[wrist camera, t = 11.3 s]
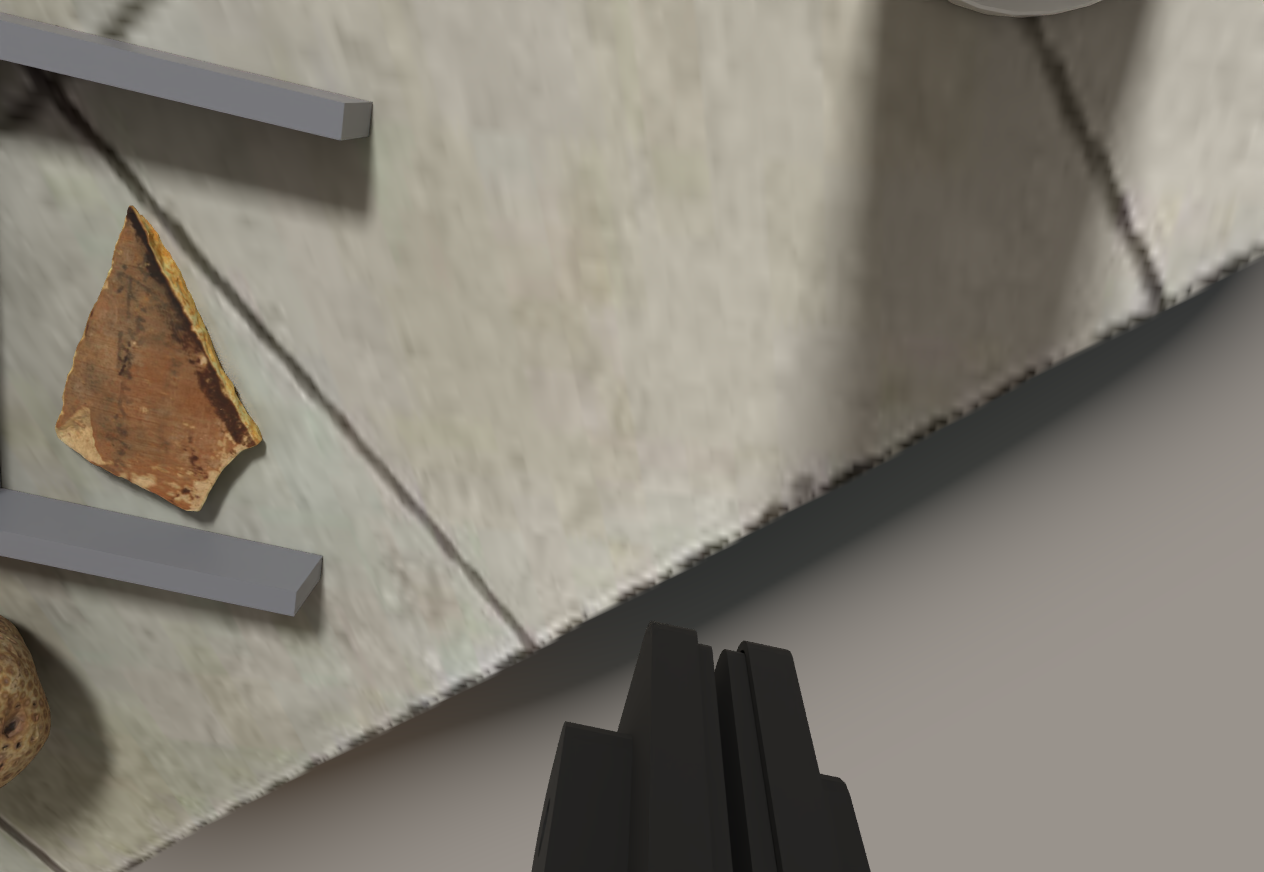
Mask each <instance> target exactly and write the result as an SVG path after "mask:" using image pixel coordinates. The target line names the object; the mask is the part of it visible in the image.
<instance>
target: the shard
mask: <svg viewBox="0 0 1264 872" xmlns="http://www.w3.org/2000/svg"><path fill="white" fill-rule="evenodd" d="M62 400H63V408H62V411H61V414H60V415H59V418H58V420H57V422H56V426H55V430H56V433H57V436H58V438H59V439H60V440H62V441H63V442H64V443H65V444H66V445H67V446H69V447H70V448H72V449H74V450H75V451H76V452H78V453H79V454H81V455H82V456H83V457H84V458H85V459H87V460H88V461H89V462H91V463H92V464H94V465H96V466H99V467H102V468H103V469H105V470H107V471H109V472H110V473H112V474H114V475H116V476H118V477H123V478H125V479H127V480H128V481H130V482H131V483H133V484H136V485H138V486H140V487H141V488H144V489H146V490H148V491H150V492H153V493H155V494H157V495H159V496H160V497H162V498H164V499H165V500H167V501H169V502H170V503H172V504H174V505H175V506H177V507H179V508H182V509H184V510H186V511H196V512H198V511H200V510H201V508H202V506H203V505H204V503H205V501H206V499H207V496H208V494H209V492H210V490H211V488H212V487H213V485H214V484H215V482H216V480H217V479H218V477H219V475H220V474H221V472H222V470H223V469H224V468H225V467H226V466H227V465H228V464H229V463H230V462H231V461H232V460H233V459H234V458H235V457H236V456H237V455H238V454H239V453H240V452H242V451H243V450H245V449H248V448H252V447H254V446H256V445H258V444H259V443H260V442H261V441H262V436H261V433H260V430H259V428H258V426H257V425H256V424H255V423H254V421H253V420H252V418H251V417H250V416H249V415H248V414H247V412H246V410H245V408H244V407H243V405H242V404H241V402H240V400H239V398H238V397H237V395H236V394H235V389H234V385H233V383H232V382H231V381H230V380H229V378H228V377H227V376H226V375H225V373H224V371H223V370H222V368H221V365H220V363H219V361H218V358H217V356H216V354H215V350H214V348H213V345H212V342H211V339H210V336H209V334H208V332H207V329H206V328H205V325H204V323H203V320H202V318H201V316H200V314H199V312H198V311H197V309H196V307H195V303H194V301H193V298H192V296H191V294H190V292H189V291H188V289H187V287H186V284H185V281H184V279H183V277H182V274H181V271H180V270H179V268H178V267H177V265H176V263H175V262H174V260H173V259H172V257H171V255H170V253H169V252H168V251H167V250H166V249H165V247H164V245H163V244H162V242H161V240H160V237H159V235H158V233H157V232H156V231H155V230H154V228H153V227H152V226H151V224H150V223H149V222H148V221H147V220H146V219H145V218H144V217H143V216H142V215H140V214H139V213H138V211H137V210H136V209H135V208H134V207H133V206H129V208H128V210H127V216H126V218H125V222H124V226H123V229H122V231H121V233H120V235H119V239H118V241H117V243H116V245H115V250H114V255H113V258H112V266H111V269H110V270H109V272H108V276H107V278H106V281H105V283H104V286H103V288H102V291H101V293H100V295H99V297H98V301H97V302H96V303H95V304H94V307H93V309H92V311H91V312H90V314H89V318H88V321H87V324H86V328H85V331H84V334H83V337H82V339H81V340H80V342H79V344H78V346H77V349H76V352H75V355H74V358H73V367H72V369H71V371H70V372H69V374H68V375H67V381H66V385H65V389H64V393H63V396H62Z"/></svg>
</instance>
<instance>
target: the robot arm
mask: <svg viewBox="0 0 1264 872" xmlns="http://www.w3.org/2000/svg"><path fill="white" fill-rule="evenodd" d="M948 1H950V2H951V3H953V4H955V5H958V6H961V7H964V8H968V9H971V10H974V11H977V12H980V13H983V14H986V15H996V16H1007V17H1018V18H1025V17H1034V16H1043V15H1052V14H1059V13H1063V12H1067V11H1070V10H1074V9H1078V8H1083V7H1087V6H1090V5H1092V4H1094V3H1097V2H1099V1H1102V0H948ZM532 872H870V868H869V864H868V860H867V856H866V853H865V849H864V845H863V842H862V838H861V835H860V831H859V827H858V823H857V820H856V816H855V812H854V808H853V805H852V801H851V797H850V794H849V791H848V789H847V786H846V784H845V783H844V782H843V781H842V780H841V779H840V778H838V777H832V776H828V775H823V774H820V773H819V768H818V764H817V760H816V755H815V751H814V747H813V743H812V738H811V734H810V730H809V726H808V721H807V717H806V712H805V708H804V705H803V700H802V696H801V691H800V687H799V683H798V678H797V674H796V670H795V666H794V661H793V657H792V654H791V652H790V651H788V650H786V649H781V648H777V647H772V646H767V645H763V644H758V643H753V642H748V641H743V642H741V644H740V645H739V647H738V649H737V652H735V651H731V650H726V649H724V650H723V651H722V653H721V654H720V657H719V659H718V662H717V665H716V669H715V672H714V662H713V652H712V647H711V646H708V645H703V644H698V640H697V632H696V631H695V630H692V629H688V628H683V627H678V626H674V625H668V624H664V623H660V622H655V621H650V622H649V624H648V626H647V629H646V632H645V635H644V639H643V642H642V646H641V649H640V653H639V657H638V660H637V664H636V667H635V671H634V674H633V678H632V681H631V685H630V689H629V692H628V696H627V699H626V703H625V706H624V710H623V713H622V717H621V721H620V724H619V728H618V731H617V732H614V731H610V730H605V729H600V728H595V727H590V726H585V725H581V724H576V723H571V722H565V723H564V725H563V728H562V732H561V736H560V740H559V743H558V747H557V751H556V755H555V759H554V763H553V767H552V771H551V775H550V780H549V784H548V789H547V793H546V798H545V802H544V807H543V812H542V816H541V822H540V827H539V832H538V837H537V843H536V848H535V855H534V860H533V866H532Z"/></svg>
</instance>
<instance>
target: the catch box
mask: <svg viewBox="0 0 1264 872" xmlns="http://www.w3.org/2000/svg"><path fill="white" fill-rule="evenodd" d="M0 59H1V60H5V61H10V62H14V63H18V64H22V65H26V66H31V67H35V68H39V69H43V70H47V71H52V72H56V73H60V74H64V75H68V76H72V77H77V78H81V79H85V80H89V81H93V82H98V83H102V84H106V85H110V86H114V87H119V88H123V89H127V90H131V91H135V92H139V93H144V94H148V95H152V96H156V97H160V98H165V99H169V100H173V101H177V102H181V103H186V104H190V105H194V106H198V107H202V108H206V109H211V110H215V111H219V112H223V113H227V114H232V115H236V116H240V117H244V118H248V119H253V120H257V121H261V122H265V123H269V124H273V125H278V126H282V127H286V128H290V129H294V130H299V131H303V132H307V133H311V134H315V135H320V136H324V137H328V138H332V139H336V140H340V141H341V140H348V139H355V138H361V137H368V136H369V129H370V120H371V111H372V102H369V101H365V100H361V99H357V98H353V97H349V96H345V95H341V94H336V93H332V92H328V91H324V90H320V89H316V88H312V87H307V86H303V85H299V84H295V83H291V82H287V81H283V80H279V79H274V78H270V77H266V76H262V75H258V74H254V73H250V72H245V71H241V70H237V69H233V68H229V67H225V66H221V65H216V64H212V63H208V62H204V61H200V60H196V59H192V58H188V57H183V56H179V55H175V54H171V53H167V52H163V51H159V50H154V49H150V48H146V47H142V46H138V45H134V44H130V43H125V42H121V41H117V40H113V39H109V38H105V37H101V36H97V35H92V34H88V33H84V32H80V31H76V30H72V29H68V28H63V27H59V26H55V25H51V24H47V23H43V22H39V21H35V20H30V19H26V18H22V17H18V16H14V15H10V14H6V13H1V12H0ZM0 556H4V557H9V558H14V559H19V560H24V561H29V562H33V563H38V564H43V565H48V566H53V567H58V568H62V569H67V570H72V571H77V572H82V573H87V574H91V575H96V576H101V577H106V578H111V579H115V580H120V581H125V582H130V583H135V584H140V585H144V586H149V587H154V588H159V589H164V590H169V591H173V592H178V593H183V594H188V595H193V596H198V597H202V598H207V599H212V600H217V601H222V602H226V603H231V604H236V605H241V606H246V607H251V608H255V609H260V610H265V611H270V612H275V613H280V614H284V615H289V616H295V614H296V613H297V611H298V610H299V609H300V607H301V606H302V604H303V603H304V601H305V600H306V598H307V597H308V596H309V594H310V593H311V591H312V590H313V588H314V587H315V586H316V584H317V583H318V581H319V580H320V576H321V567H322V558H323V556H321V555H316V554H311V553H307V552H302V551H297V550H292V549H288V548H283V547H278V546H273V545H269V544H264V543H259V542H255V541H250V540H245V539H240V538H236V537H231V536H226V535H221V534H217V533H212V532H207V531H203V530H198V529H193V528H188V527H184V526H179V525H174V524H169V523H165V522H160V521H155V520H151V519H146V518H141V517H136V516H132V515H127V514H122V513H117V512H113V511H108V510H103V509H99V508H94V507H89V506H84V505H80V504H75V503H70V502H65V501H61V500H56V499H51V498H47V497H42V496H37V495H32V494H28V493H23V492H18V491H13V490H9V489H4V488H1V475H0Z"/></svg>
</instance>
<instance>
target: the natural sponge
mask: <svg viewBox="0 0 1264 872" xmlns="http://www.w3.org/2000/svg"><path fill="white" fill-rule="evenodd" d="M50 727H51V717H50V709H49V705H48V701H47V698H46V695H45V693H44V690H43V688H42V686H41V683H40V680H39V678H38V675H37V671H36V668H35V665H34V662H33V658H32V656H31V653H30V652H29V650H28V648H27V646H26V645H25V643H24V640H23V638H22V636H21V635H20V633H19V631H18V630H17V628H16V627H15V626H14V625H13V624H12V623H11V622H10V621H9V620H7V619H6V618H4V617H3V616H1V615H0V788H1V787H3V786H4V785H6V784H7V783H8V782H10V781H11V780H12V779H13V778H15V777H16V776H17V775H18V774H19V773H20V772H21V771H22V770H23V769H24V768H25V767H26V766H27V765H28V764H29V763H30V762H31V761H32V760H33V758H34V757H35V756H36V755H37V753H38V752H39V751H40V750H41V748H42V747H43V745H44V743H45V742H46V740H47V738H48V736H49V732H50Z"/></svg>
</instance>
